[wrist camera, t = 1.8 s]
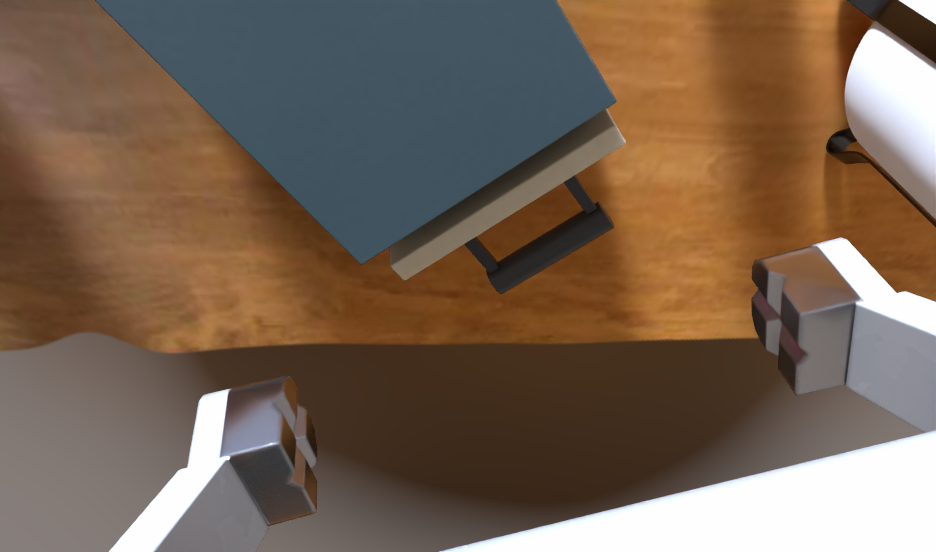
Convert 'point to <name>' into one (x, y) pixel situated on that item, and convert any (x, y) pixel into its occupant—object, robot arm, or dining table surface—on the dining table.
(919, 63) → the coffee press
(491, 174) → the cabinet
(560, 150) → the drawer
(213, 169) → the dining table surface
